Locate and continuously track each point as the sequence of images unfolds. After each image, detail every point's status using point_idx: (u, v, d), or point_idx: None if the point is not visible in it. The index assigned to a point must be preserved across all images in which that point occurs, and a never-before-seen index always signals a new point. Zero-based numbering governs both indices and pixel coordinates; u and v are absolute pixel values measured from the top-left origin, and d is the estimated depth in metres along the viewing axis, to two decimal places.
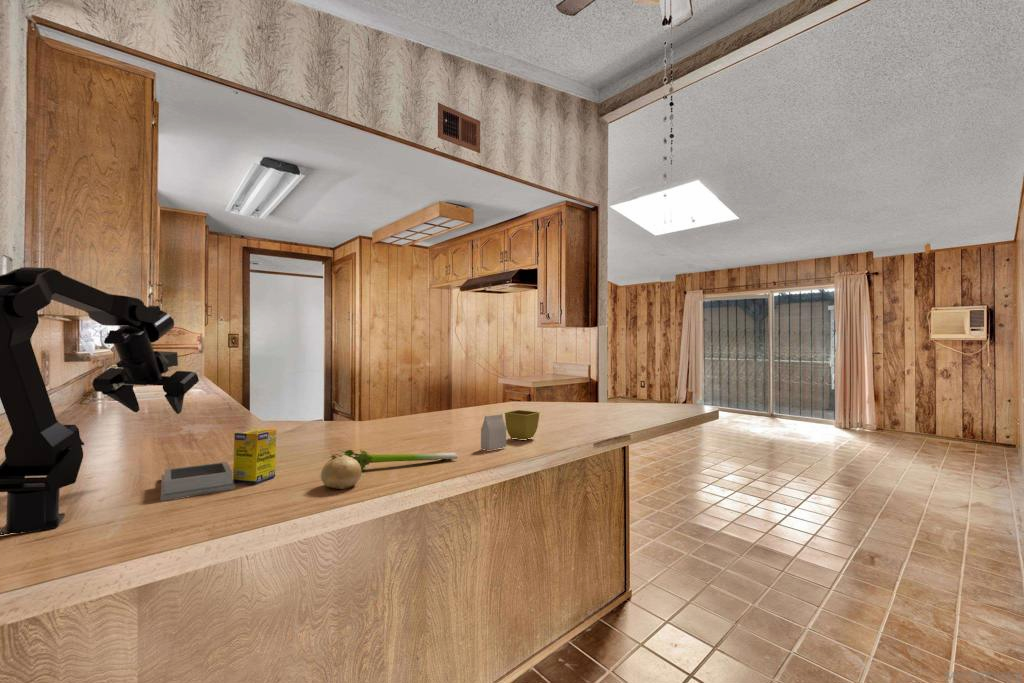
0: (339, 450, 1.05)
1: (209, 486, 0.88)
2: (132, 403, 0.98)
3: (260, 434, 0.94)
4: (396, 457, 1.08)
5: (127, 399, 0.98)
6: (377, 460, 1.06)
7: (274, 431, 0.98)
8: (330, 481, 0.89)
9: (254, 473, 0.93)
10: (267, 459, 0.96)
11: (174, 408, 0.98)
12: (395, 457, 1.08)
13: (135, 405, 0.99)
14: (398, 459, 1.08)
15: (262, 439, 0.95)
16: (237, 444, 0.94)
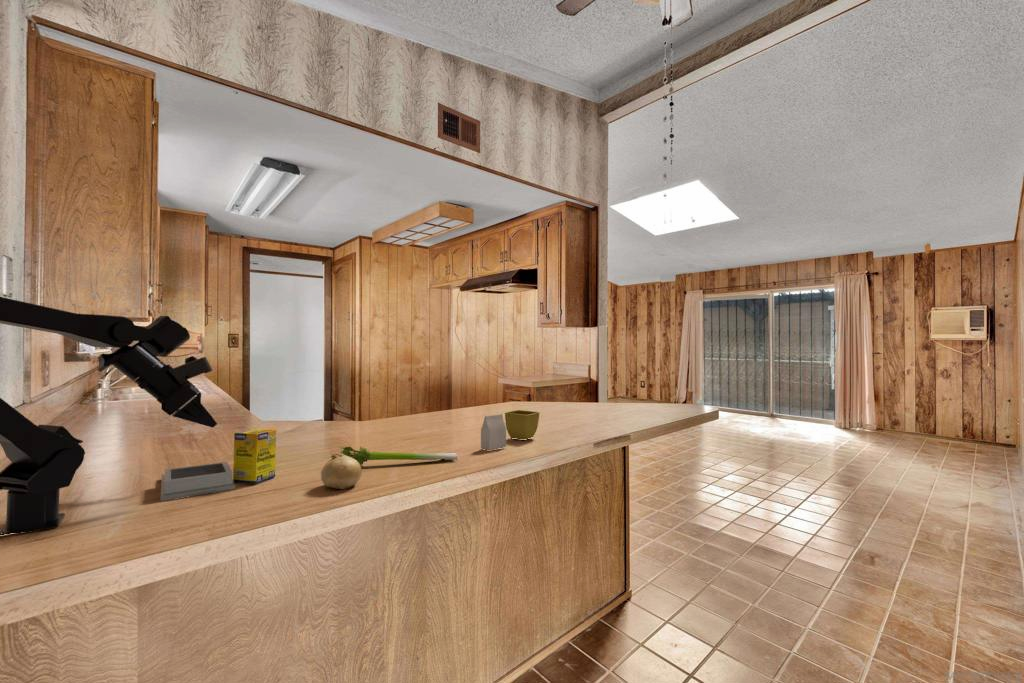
0: (340, 446, 1.09)
1: (209, 486, 0.88)
2: None
3: (260, 434, 0.94)
4: (394, 455, 1.10)
5: None
6: (375, 457, 1.09)
7: (274, 431, 0.98)
8: (330, 481, 0.89)
9: (254, 473, 0.93)
10: (267, 459, 0.96)
11: (200, 423, 0.87)
12: (393, 455, 1.10)
13: None
14: (396, 457, 1.10)
15: (262, 439, 0.95)
16: (237, 444, 0.94)
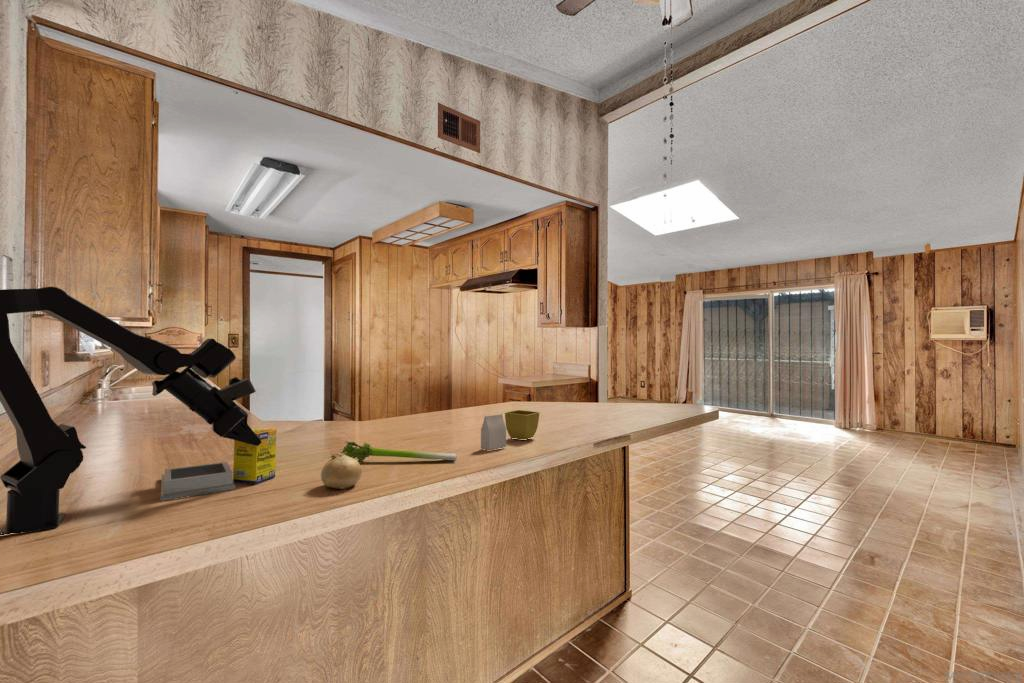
0: (347, 441, 1.15)
1: (209, 486, 0.88)
2: None
3: (260, 434, 0.94)
4: (394, 453, 1.13)
5: None
6: (376, 454, 1.13)
7: (274, 431, 0.98)
8: (330, 481, 0.89)
9: (254, 473, 0.93)
10: (267, 459, 0.96)
11: (246, 442, 0.92)
12: (393, 453, 1.13)
13: None
14: (396, 455, 1.12)
15: (262, 439, 0.95)
16: (237, 444, 0.94)
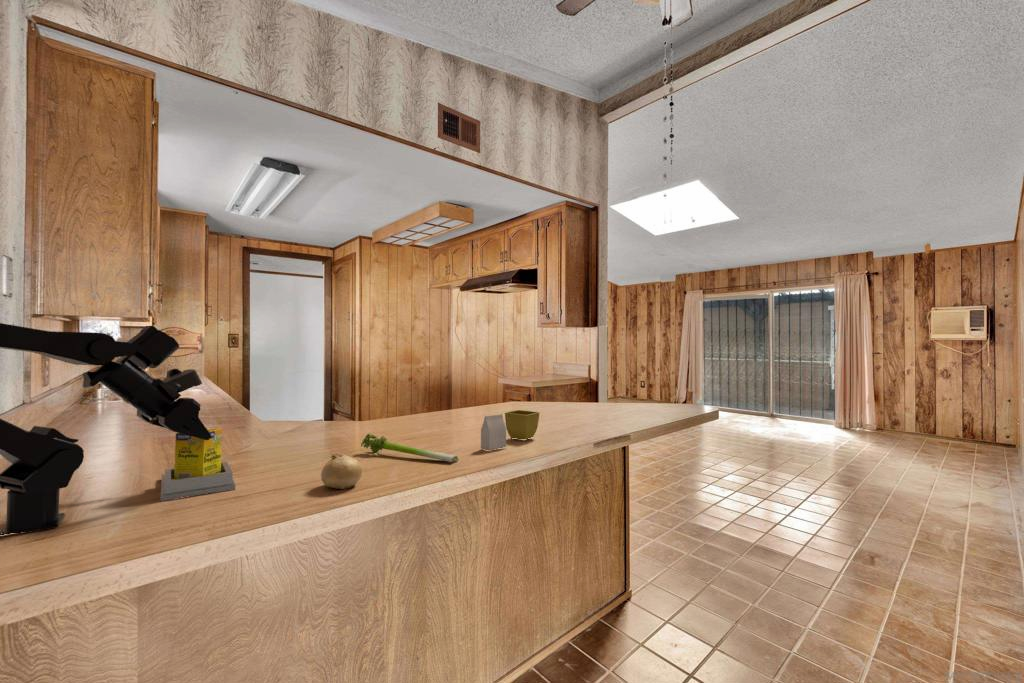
0: None
1: (209, 486, 0.88)
2: None
3: None
4: (401, 448, 1.18)
5: None
6: (388, 448, 1.20)
7: (220, 430, 0.94)
8: (330, 481, 0.89)
9: None
10: (213, 460, 0.91)
11: None
12: (400, 448, 1.18)
13: None
14: (402, 450, 1.17)
15: None
16: (179, 445, 0.88)
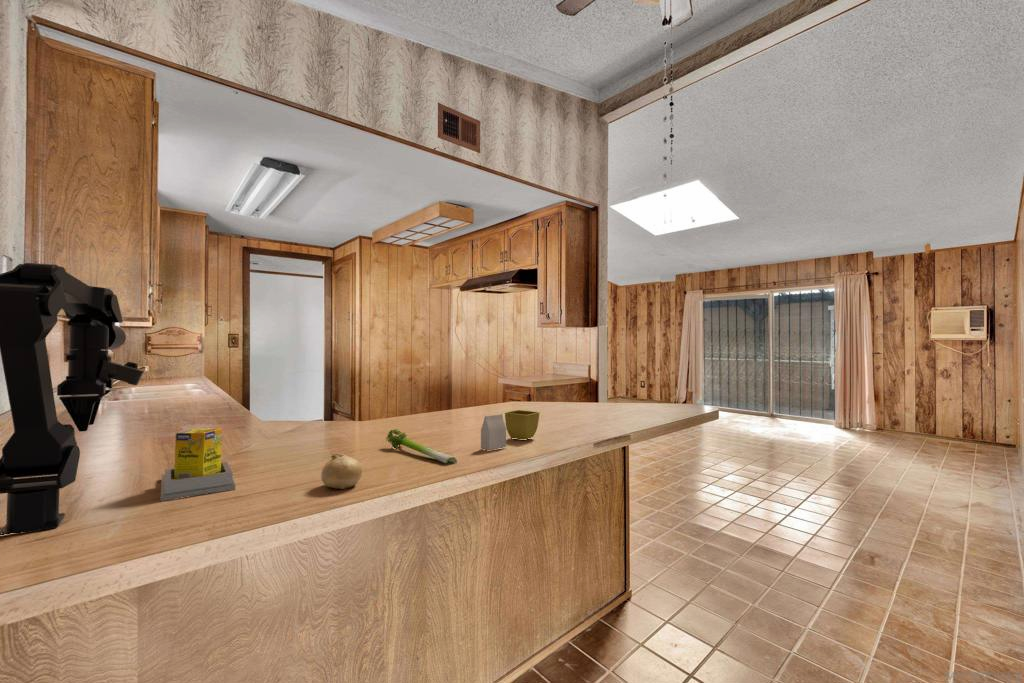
0: (397, 429, 1.33)
1: (209, 486, 0.88)
2: None
3: (207, 433, 0.89)
4: (412, 445, 1.22)
5: None
6: (404, 444, 1.25)
7: (220, 430, 0.94)
8: (331, 481, 0.89)
9: None
10: (213, 460, 0.91)
11: (73, 420, 0.83)
12: (412, 445, 1.22)
13: None
14: (413, 447, 1.21)
15: (209, 438, 0.90)
16: (179, 445, 0.88)
